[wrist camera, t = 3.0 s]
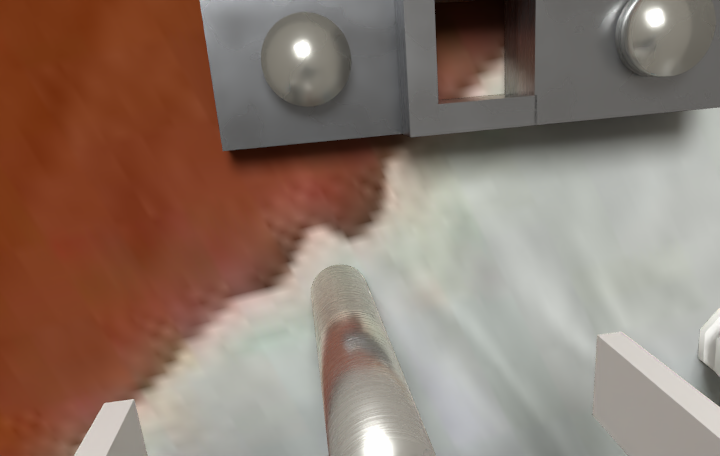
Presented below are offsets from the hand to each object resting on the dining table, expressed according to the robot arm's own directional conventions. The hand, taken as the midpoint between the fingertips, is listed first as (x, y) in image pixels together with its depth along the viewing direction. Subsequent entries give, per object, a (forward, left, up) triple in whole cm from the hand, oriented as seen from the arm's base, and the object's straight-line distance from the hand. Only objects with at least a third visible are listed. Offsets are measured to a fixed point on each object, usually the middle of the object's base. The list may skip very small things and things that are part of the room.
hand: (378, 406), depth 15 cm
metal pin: (0, 0, -9) cm, 9 cm away
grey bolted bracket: (+6, +10, -9) cm, 15 cm away
